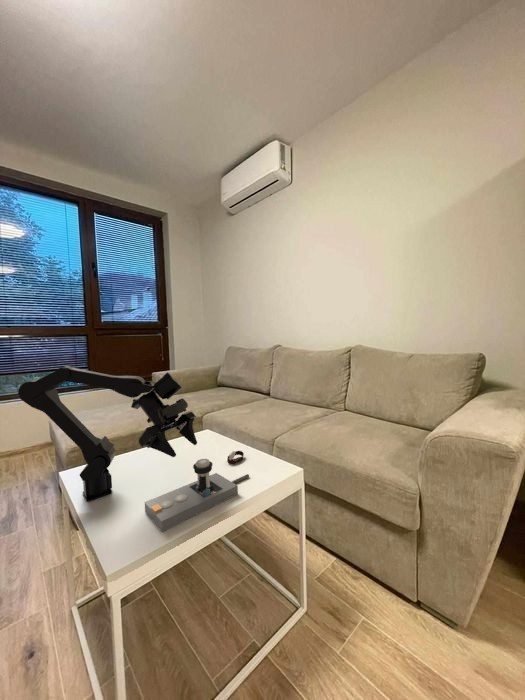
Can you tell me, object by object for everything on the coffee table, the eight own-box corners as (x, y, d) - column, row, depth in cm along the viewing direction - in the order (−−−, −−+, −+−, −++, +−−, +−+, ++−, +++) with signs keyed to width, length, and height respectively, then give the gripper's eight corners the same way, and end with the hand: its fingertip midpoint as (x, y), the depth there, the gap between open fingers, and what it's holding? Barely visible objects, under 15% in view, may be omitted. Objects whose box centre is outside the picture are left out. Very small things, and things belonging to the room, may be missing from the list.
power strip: (162, 531, 66) (161, 519, 65) (145, 511, 74) (144, 500, 74) (260, 483, 86) (259, 473, 86) (238, 471, 94) (238, 462, 94)
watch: (237, 455, 107) (236, 446, 107) (247, 458, 105) (246, 448, 105) (224, 464, 101) (223, 454, 100) (234, 466, 98) (234, 456, 98)
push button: (221, 494, 81) (219, 459, 80) (210, 504, 76) (208, 467, 75) (202, 489, 83) (200, 456, 83) (190, 499, 79) (188, 463, 78)
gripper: (143, 398, 75) (178, 444, 71) (189, 386, 92) (219, 423, 88) (124, 425, 79) (156, 470, 74) (172, 408, 96) (200, 444, 91)
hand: (186, 450), depth 82 cm, fingers open, 9 cm apart
